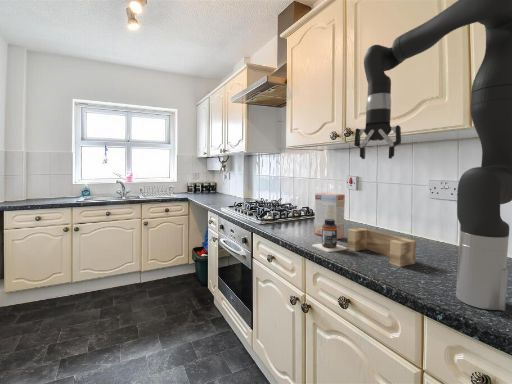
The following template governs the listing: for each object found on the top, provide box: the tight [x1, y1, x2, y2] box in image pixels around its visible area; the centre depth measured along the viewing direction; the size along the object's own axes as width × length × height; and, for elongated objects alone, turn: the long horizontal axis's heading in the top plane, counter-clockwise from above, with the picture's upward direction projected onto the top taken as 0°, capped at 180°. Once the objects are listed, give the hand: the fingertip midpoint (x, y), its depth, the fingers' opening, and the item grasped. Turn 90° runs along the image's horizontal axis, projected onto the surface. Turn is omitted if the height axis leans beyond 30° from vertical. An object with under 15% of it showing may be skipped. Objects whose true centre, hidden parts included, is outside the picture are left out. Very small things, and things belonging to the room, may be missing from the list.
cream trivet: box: [311, 242, 347, 253], centre depth 117 cm, size 10×10×1 cm
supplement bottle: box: [321, 219, 338, 248], centre depth 116 cm, size 6×6×11 cm
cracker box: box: [314, 192, 346, 240], centre depth 135 cm, size 14×6×21 cm, turn 32°
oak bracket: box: [346, 227, 417, 268], centre depth 106 cm, size 8×24×8 cm, turn 26°
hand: (376, 158), depth 95 cm, fingers open, 8 cm apart
